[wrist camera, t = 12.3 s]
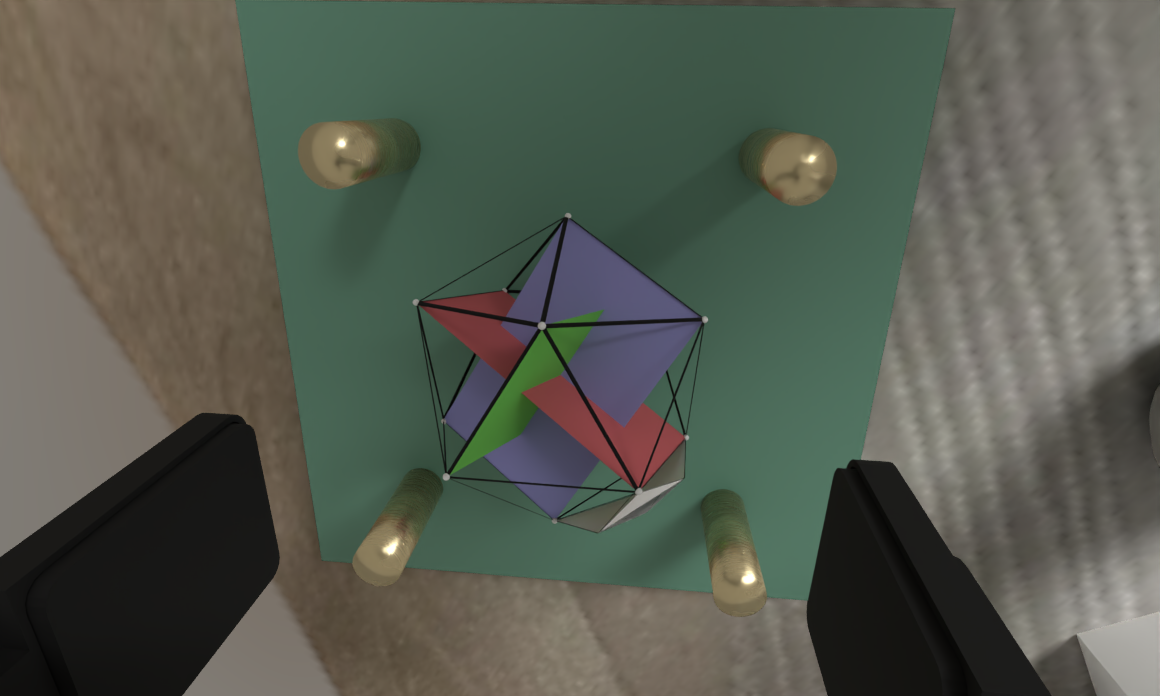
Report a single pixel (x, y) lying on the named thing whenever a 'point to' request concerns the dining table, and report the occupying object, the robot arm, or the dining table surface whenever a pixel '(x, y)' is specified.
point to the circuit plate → (616, 217)
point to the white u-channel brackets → (1124, 657)
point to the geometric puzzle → (570, 378)
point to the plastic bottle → (1155, 425)
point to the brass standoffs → (344, 159)
